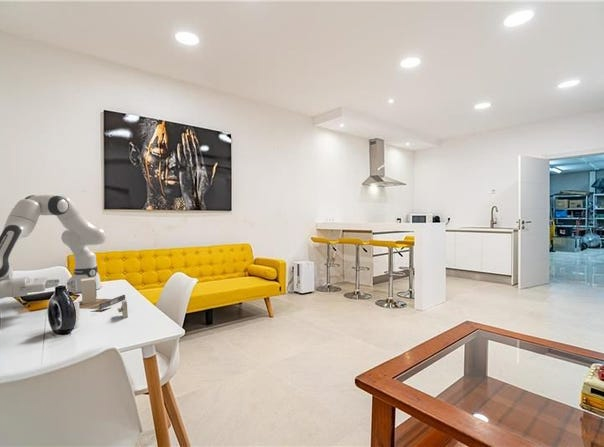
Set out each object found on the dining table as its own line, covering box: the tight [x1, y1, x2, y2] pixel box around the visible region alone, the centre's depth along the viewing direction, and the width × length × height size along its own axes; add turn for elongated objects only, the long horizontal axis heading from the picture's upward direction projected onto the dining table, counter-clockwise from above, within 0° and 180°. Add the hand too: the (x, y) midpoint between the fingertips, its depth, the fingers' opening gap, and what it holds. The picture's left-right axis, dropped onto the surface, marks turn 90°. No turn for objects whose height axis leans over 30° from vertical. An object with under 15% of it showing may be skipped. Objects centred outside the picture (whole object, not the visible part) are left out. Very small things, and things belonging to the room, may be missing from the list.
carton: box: [81, 277, 98, 304], centre depth 166 cm, size 6×6×12 cm
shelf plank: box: [78, 294, 126, 313], centre depth 163 cm, size 23×16×4 cm
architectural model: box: [117, 299, 129, 319], centre depth 146 cm, size 3×7×7 cm, turn 35°
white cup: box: [72, 301, 80, 330], centre depth 133 cm, size 8×8×10 cm
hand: (58, 282), depth 158 cm, fingers open, 8 cm apart
